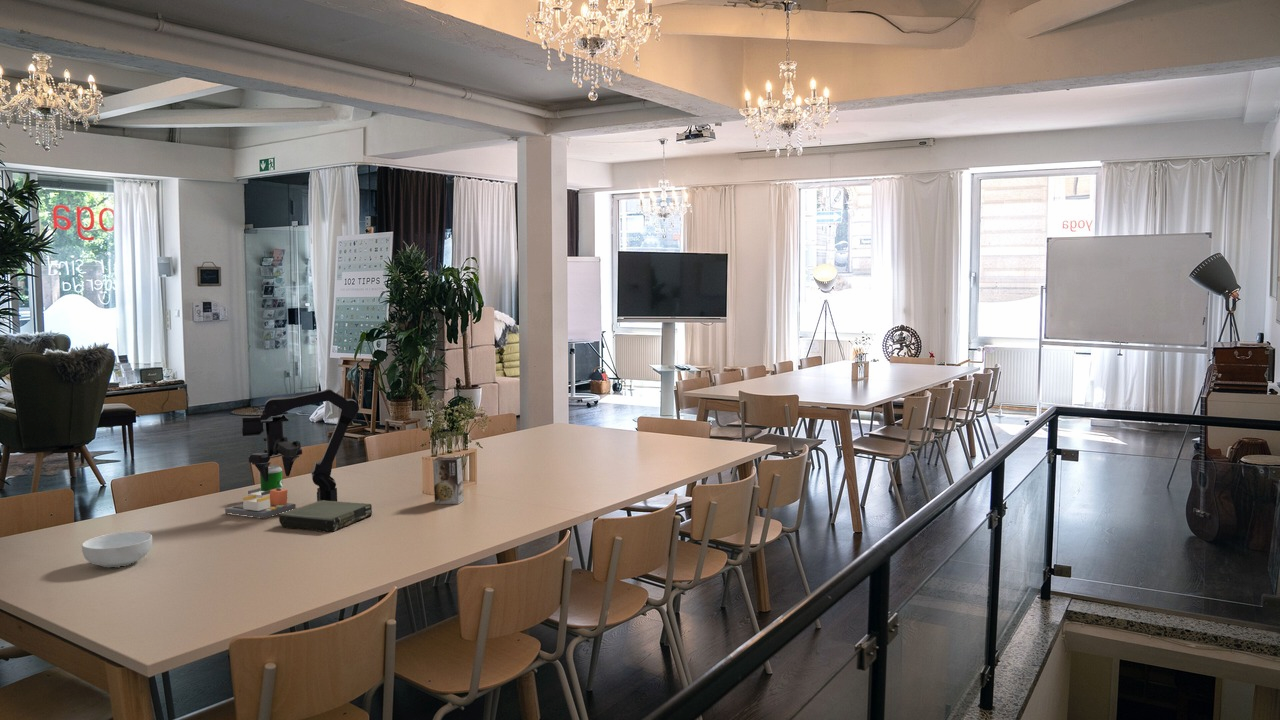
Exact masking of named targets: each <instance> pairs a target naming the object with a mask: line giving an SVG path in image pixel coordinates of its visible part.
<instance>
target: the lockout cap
mask: <svg viewBox="0 0 1280 720" xmlns="http://www.w3.org/2000/svg"><path fill="white" fill-rule="evenodd" d="M287 503H288V489H285V488H283V489H282V488H276V489H272V490H270V504H271V505H275V506H277V505H284V504H287Z"/></svg>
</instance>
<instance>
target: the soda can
mask: <svg viewBox="0 0 1280 720" xmlns="http://www.w3.org/2000/svg"><path fill="white" fill-rule="evenodd" d="M259 475H260V476H259V477H260V488H261V491H269V490H272V489H276V488H282V489H284V484H283V483H284V481H283V479H284V478H283V468H282V467H280V465H269V466H268V476H269V478H268V482H265V480H264V479H263V477H262V475H261V473H260V472H259Z"/></svg>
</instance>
